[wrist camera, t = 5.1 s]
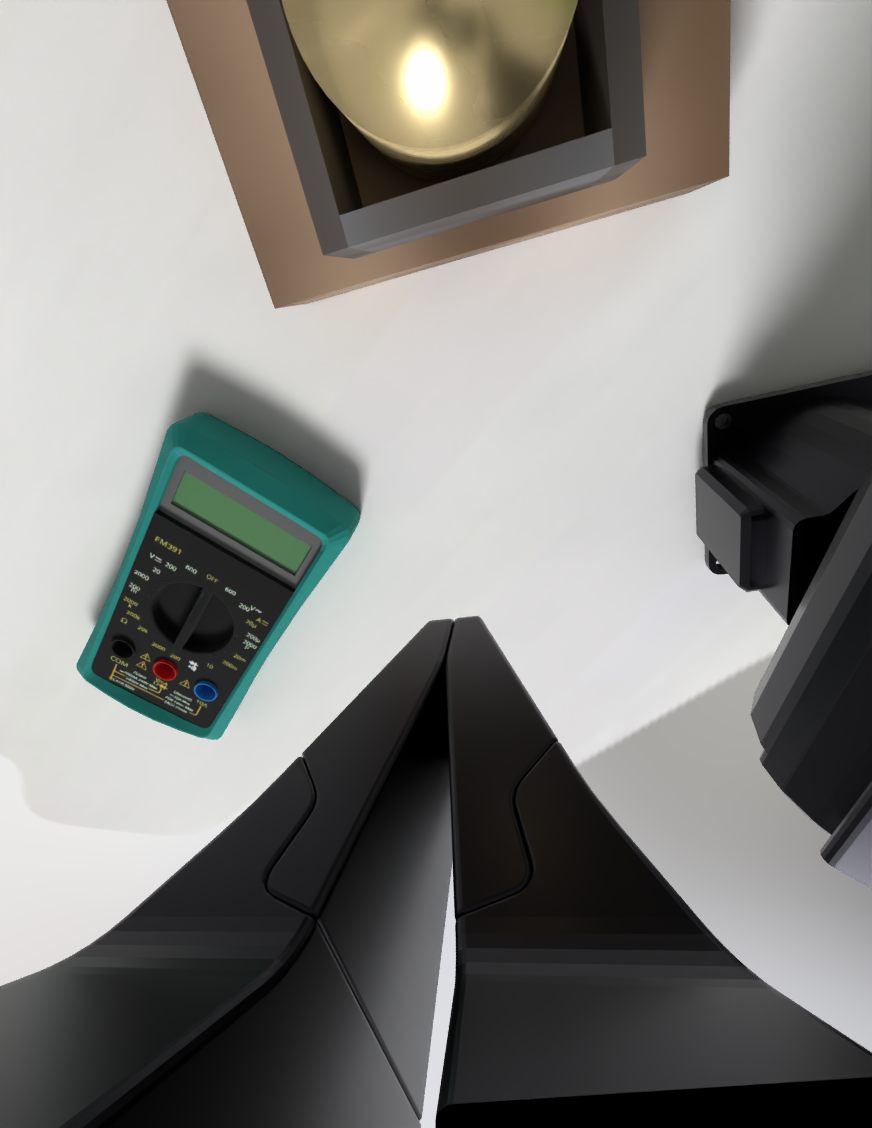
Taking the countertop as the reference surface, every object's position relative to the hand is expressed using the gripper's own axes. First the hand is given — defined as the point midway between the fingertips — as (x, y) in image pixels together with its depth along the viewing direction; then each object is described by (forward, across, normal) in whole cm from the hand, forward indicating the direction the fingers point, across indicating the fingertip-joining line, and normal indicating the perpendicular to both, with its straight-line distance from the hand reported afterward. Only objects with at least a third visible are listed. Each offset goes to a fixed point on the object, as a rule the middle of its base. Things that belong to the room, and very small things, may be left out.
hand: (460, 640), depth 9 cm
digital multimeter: (+13, +12, +5) cm, 18 cm away
